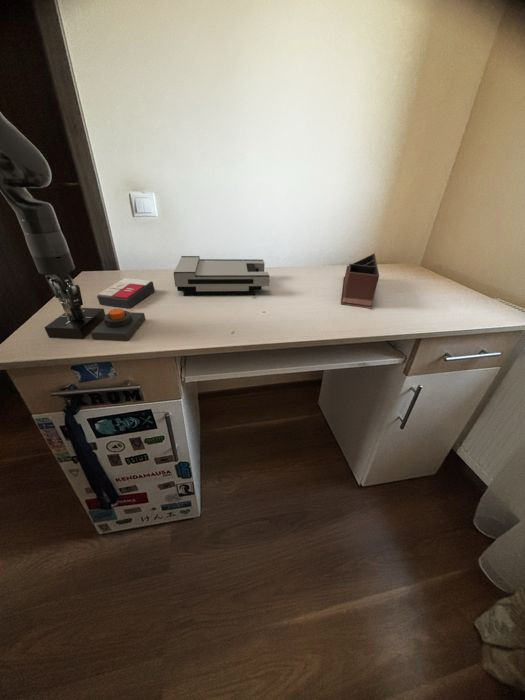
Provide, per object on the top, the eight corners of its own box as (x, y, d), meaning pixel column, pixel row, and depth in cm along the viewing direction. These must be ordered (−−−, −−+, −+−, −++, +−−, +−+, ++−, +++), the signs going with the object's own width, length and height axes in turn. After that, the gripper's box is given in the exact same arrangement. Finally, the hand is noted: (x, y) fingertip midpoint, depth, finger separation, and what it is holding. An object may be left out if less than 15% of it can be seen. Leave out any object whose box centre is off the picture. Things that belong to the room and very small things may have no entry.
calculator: (95, 293, 87) (124, 276, 99) (99, 306, 90) (127, 287, 102) (127, 297, 86) (152, 279, 97) (130, 310, 88) (155, 290, 100)
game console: (268, 295, 100) (269, 273, 96) (176, 296, 97) (173, 273, 92) (262, 276, 117) (263, 256, 113) (184, 276, 114) (181, 256, 109)
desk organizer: (340, 304, 96) (347, 272, 90) (343, 277, 120) (348, 250, 114) (372, 309, 94) (381, 275, 88) (369, 280, 118) (376, 253, 111)
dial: (86, 317, 76) (80, 299, 73) (69, 322, 73) (62, 303, 70) (81, 312, 78) (74, 294, 75) (65, 316, 75) (57, 298, 72)
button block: (128, 341, 72) (124, 327, 70) (93, 339, 72) (88, 325, 70) (145, 319, 82) (142, 307, 80) (115, 318, 82) (111, 305, 80)
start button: (121, 320, 74) (119, 314, 73) (107, 320, 74) (106, 314, 73) (127, 314, 77) (125, 308, 76) (114, 314, 77) (112, 308, 76)
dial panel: (83, 339, 72) (79, 328, 70) (48, 337, 72) (43, 326, 70) (106, 317, 82) (103, 308, 80) (75, 316, 82) (72, 306, 80)
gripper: (20, 248, 67) (48, 314, 76) (44, 260, 60) (72, 330, 69) (55, 243, 72) (77, 305, 81) (81, 253, 65) (102, 320, 74)
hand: (75, 316), depth 75 cm, fingers closed on dial, 4 cm apart
